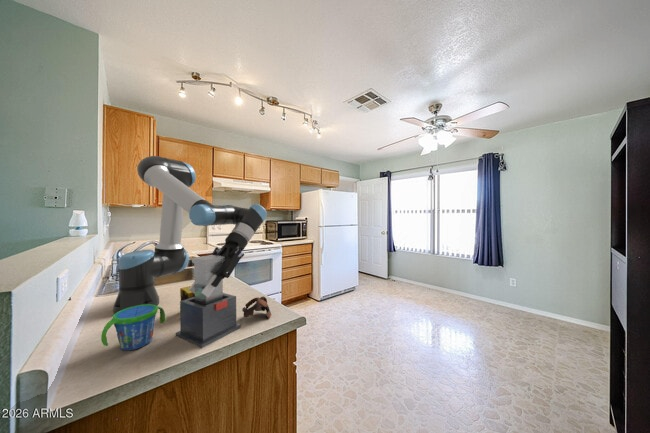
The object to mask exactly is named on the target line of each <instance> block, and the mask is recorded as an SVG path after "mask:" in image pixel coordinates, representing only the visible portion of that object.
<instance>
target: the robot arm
mask: <svg viewBox="0 0 650 433" xmlns="http://www.w3.org/2000/svg"><path fill="white" fill-rule="evenodd" d="M136 170H137V175H138V176H139V178H140V180H142V182H144V183H145V184H146V185H147V186H149V187H152V188H153V187H154V188H156V189H157V190H159V191H160V192H161V193H162V202H161V204H162V205H161V214H160V217H161V218H160V228H159V229H160V230H159V240H158V241H159V242H158V243H157V244H156V245H155V246H154V250H153V249H141V250H135V251H134V250H133V251H130V252H127V253H124V254H122V255H121V256H120V257H119V259H118V266H117V269H118V294H117V296H116V298H115V302H114V303H113V308H112V309H113V310H112V311H113V313H114V314H115V313H117V312H119V311H121V310H123V309H126V308H129V307H133V306H138V305H146V304H152V305H156V306H158V305H159V304H160V296H159V294H158V292H157V289H156V287H155V279H157V278H160V277H165V276H168V275H175V274H177V273H179V272H182V271H184V270H185V269H186V267H187V266H188V264H189V260H190V257H189V256H190V255H189V254H188V253H189V252H188V251H187V249H185V246H184V245H183V244H182V232H183V219H184V210H185V211H186V212H187V213H188V216H189V217H188V218H189V219H190V222H191V223H192V224H193V225H194V226H199V227H200V226H201V227H208V226H218V225H219V226H223V225H235V226H234V228H232V230H231V232H230V233H228V235H227V236H226V238H225V239H224V241H225V242H224V245H223V246H221V248H220V247H218V246H216V247H215V248H214V249H213V252H212V253H211V254H210V255H217V256H225V261H222V266H221V267H220V269H219V271H218V272H216V274H217V275H214V276H213V277H212V279H211V280H210V281H209V283H208V284H207V285H206V287H205V288H204V289H203V291H202V292H201V293H202V294H203V295H205V296H206V297H209V296H210V294H211V293H212V292H213V290H214V289H215V287H217V286H218V284H219V283H220V281H221V280H222V279H223V280H224V279H225V278H226V279H228V278H230V277H231V274H232V273H233V271H234V270H235V268H236V267H237V265H238V263H239V262H240V261H241V259H242V258H243V257H244V256H245V253H244V252H243V251H244V250H245V249H246V247H247V245H248V243H249V242H250V241H251V240H252V238H253V236H254V235H255V233H256V232H257V231H258V229H259V228H260V227H261V225H262V224H263V223H264V222H265V220H266V218H267V216H268V212H267V210H266V208H264V206H262V205H261V204H257V203H254V204H252V205H251V206H250V207H249V208H248V207H241V206H236V205H232V204H223V205H219V204H218V205H217V204H216V205H215V204H213V203H211V202H210V201H208V200H207V199H205V198H204V197H203V196H201V195H200V194H198V193H197V192H196V191H194V190H193V189H192V188H190V187H192V186H194V184H195V183H196V178H197V177H196V176H197V175H196V171H195V169H194V168H193V166H192V164H191V165H190V164H189V163H188V162H184V161H182V160H175V159H171V158H167V157H162V156H160V155H159V156H158V155H151V156H146V157H144V158H143V159H141V160H140V161H139V162H138V164H137V169H136ZM194 284H195V281H193V283H192V284H191V285H190V286H191V287H190V288H189V290H190V291H191V292H193V293H194V294H195V287H194Z"/></svg>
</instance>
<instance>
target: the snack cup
mask: <svg viewBox="0 0 650 433" xmlns="http://www.w3.org/2000/svg"><path fill="white" fill-rule="evenodd" d="M158 310H159V323H160V324H164V323H165V322H166V313H165V310H164V309H163V307H161V306H158V305H157V306H156V305H152V304H146V305H138V306H133V307H129V308H126V309H123V310H121V311H119V312H117V313H114V314H113V315H112V318H111V319H110V320H109V321H108V322H107V323H105V325H104V327H103V329H102V331H101V335H100V336H101V337H100V340H101V343H102V345H103V346H105V347H108V346H109V343H108V338H107V332H108V331H109V329H111V327H112V326H114V327H115V331H116V336H117V341H118V345H119V347H120V349H121V351H132V350H134V351H135V350H137V349H140V348H143V347H145V346H147V344H150V343H151V342H152V339H153V336H154V330H155V323H156V322H155V321H156V317H157V316H156V315H157V313H158Z"/></svg>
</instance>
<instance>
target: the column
mask: <svg viewBox="0 0 650 433" xmlns="http://www.w3.org/2000/svg"><path fill="white" fill-rule="evenodd" d="M222 261H225V256H217V255H211V254H207V255H202V256H197V257H196V256H195V257H192V258H191V263H192V264H194V267H193V268H194V269H193V270H194V282H195V284H194V287H195V297H194V299H195V303H197V304H200V305H203V306H206V305H208V304H211V303H214V302H217V301H219V300H222V299H223V293H224V292H223V290H224V289H223V286H224V285H223V280H224V279H222V280H221V281H220V283H219V284H218V286H217V287H215V289H214V290H213V292H212V293H211V294H210V296H209V297H206V296H205V295H203V294H202V293H201V292H202V291H203V289H204V288H205V287H206V285H207V284H208V283H209V281H210V280H211V279H212V277H213V276H214V275H217V274H216V272H218V271H219V269H220V267H221V266H222Z"/></svg>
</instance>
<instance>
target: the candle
mask: <svg viewBox="0 0 650 433" xmlns="http://www.w3.org/2000/svg"><path fill="white" fill-rule="evenodd" d="M190 287H191V285H189V286H188V285H187V286H183V287H180V288H179V289H180V290H179V296H180V301H183V300H186V299H189V298H192V297H195V294H194V293H193V292H191V291H190V290H189V288H190Z"/></svg>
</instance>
